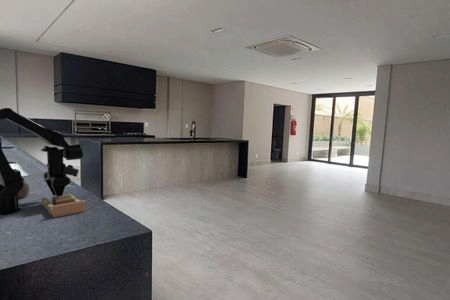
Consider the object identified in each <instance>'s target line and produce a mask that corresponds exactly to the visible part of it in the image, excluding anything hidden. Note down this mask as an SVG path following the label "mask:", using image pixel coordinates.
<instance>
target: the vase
mask: <svg viewBox="0 0 450 300" xmlns="http://www.w3.org/2000/svg"><path fill="white" fill-rule="evenodd" d="M23 183H24V186H23V188H22V189H21V190H20V191H19V193H18V195H17V197H18V200H19V199H20V200H21V199H24V198H27V197H28V195H29V194H30V186H29V184H28V182H27V181H25V179H24V180H23Z"/></svg>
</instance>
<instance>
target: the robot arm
mask: <svg viewBox="0 0 450 300" xmlns="http://www.w3.org/2000/svg"><path fill="white" fill-rule="evenodd" d="M1 120H7V121H8V122H11V123H12V124H15V125H16V126H19V127H21V128H22V129H25V130H26V131H28V132H30V133H33V134H34V135H36V136H37V137H38V138H39V139H40V140H42V141H43V142H44V143H46V144H47V145H44V147H43V148H41V149H40V151H41V152H46V156H47V157H46V158H47V159H46V160H47V163H46V167H47V171H45V172H44V173H42V177H43V179H44V182H45V183H46V185H47V186H48V188H49V191H50V192H51V194H52V195H53V196H55V197H56V196H63V194H64V191H65V188H66V187H67V186H68V185H70V184H71V178H70V177H68V176H73V177H74V178H75V177H76V178H77V177H78V174H79V171H80V170H79V169H77V168H74V166H73V165H71V164H67V166H66V164H65V162H64V159H65V160H66V161H74V160H82V159H83V157H84V152H83V149H82V147H81V144H80V143H76V144H69V143H68V142H67V141H66V140H65V136H64V134H63V133H61V132H60V131H57V130H53V129H50V128H48V127H44V126H42V125H40V124H38V123H37V122H34V121H33V120H31V119H30V118H27V117H26V116H24V115H22V114H20V113H18V112H16V111H15V110H14V109H12V108H10V107H3V108H0V121H1ZM23 180H24V181H25V179H24V178H23V176H22V172H21V170H18V169H17V168H14V169H13V168H12V167H11V165H10V163H9V161H8V159H7V156H6V155H5V153H4V151H3V149H2V147H1V146H0V215H9V214H13V213H15V212H18V211H21V210H22V209H23V208H22V207H20V205H19V199H18V197H17V195H18V193H19V191H20V190H21V189H22V188H23V186H24V183H23Z"/></svg>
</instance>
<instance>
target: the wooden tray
mask: <svg viewBox="0 0 450 300" xmlns="http://www.w3.org/2000/svg"><path fill="white" fill-rule="evenodd" d="M66 195H70V196H71V197H72V198H74V202H77V201H81V200H80V199H78V198H77V197H76V196H75V195H73V194H71V193H68V194H66ZM41 205H42V206H43V207H44V209H45V210H46V211H48V213H49V214H50V215H51V216H52V217H53V210H52V206H54V205H53V204H52V201H50V200H49V199H48V198H46V197H41Z"/></svg>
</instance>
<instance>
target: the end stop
mask: <svg viewBox="0 0 450 300" xmlns="http://www.w3.org/2000/svg"><path fill="white" fill-rule="evenodd" d="M52 210H53V216H52V218H58V217H59V218H60V217H63V216H68V215H73V214H74V215H75V214H77V213H78V214H79V213H83V212H84V213H85V212H87V201H86V200H85V199H83V200H80V201H77V202H71V203H66V204H60V205H54V206H52Z"/></svg>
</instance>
